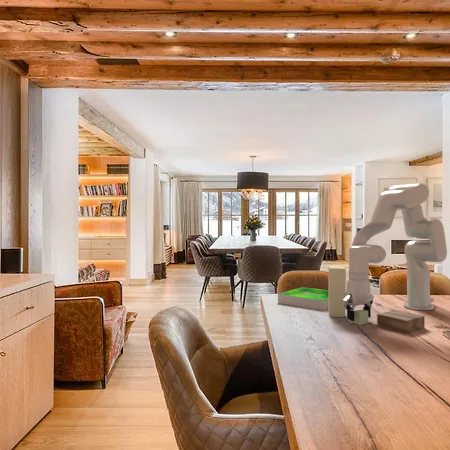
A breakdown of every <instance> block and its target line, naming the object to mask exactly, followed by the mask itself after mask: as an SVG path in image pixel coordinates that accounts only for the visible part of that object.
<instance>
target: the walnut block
mask: <svg viewBox="0 0 450 450" xmlns="http://www.w3.org/2000/svg"><path fill="white" fill-rule="evenodd" d="M376 317H377V319H376V320H377V321H376V326H377V327H379V328H383V329H388V330H390V331H391V330H392V331H394V332H399V333H403V334H411V333H414V332H416V331H420V330H423V329H425V327H426V326H425V323H426V322H425V315H421V314H415V313H412V312H411V313H410V312H407V311H402V310H398V309H394V310H388V311H385V312H380V313H377V314H376Z"/></svg>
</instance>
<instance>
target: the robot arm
mask: <svg viewBox="0 0 450 450" xmlns="http://www.w3.org/2000/svg"><path fill="white" fill-rule="evenodd" d="M429 196H430V189H429V187H428V186H427V185H426V184H424V183H420V182H419V183H417V182H415V183H406V184H405V183H404V184H397V185H393V186H391V187H389V188H388V189H387V190H386V191H383V192H381V193H380V195H379V196H378V199H377V202H376V205H375V207H374V211H373V212H372V216H371V219H370V220H369V221H368V222H367V223H365V225H364V226H362V228H360V229H359V230H358V231H357V232H356V233H355V236H354V237H353V240H352V244H351V246H350V247H348V279H347V281H346V298H345V299H344V300H343V303H344V307H345V311H346V319H347V321H350V320H351V321H354V311H353V310H354V309H356V308H355V307H357V306H363V307H362V309H363V310H367V311H368V319H371V313H372V312H371V310H372V309H371V308H372V307H373V306H372V304H373V303H374V298H375V295H373V294H372V293H371V286H370V279H369V276H370V275H369V268H370V267H369V264H379V263H382V262H383V261H384V260H385V259H386V256H387V253H386V249H385V248H384V247H382V246H381V245H377V244H367V242H368V241H369V240H371V238H372V237H374V236H376V235H378V234H382V233H384V232H385V231H388V230H389V229H391V228H392V225H393V222H394V220H395V216H396V213H397V211H401V214H402V220H403V226H404V231H405V235H406V236H407V237H408V238H410V239H416V240H411V241H408V242H407V243H406V244H405V246H404V254H405V260H406V283H407V284H406V293H407V295H406V297H407V298H406V301H407V302H404V303H403V307H404V308H406V309H409V310H415V311H432V310H434V309H435V306H434V305H432V304H431V303H432V302H435V298H433V297H431V271H430V267H429V265H428V264H427V263H426V262H429V263H442V262H444V261H445V260H446V258H447V255H448V250H447V243H446V234H445V228H444V225H443V223H442V221H441V220H440V219H438V218H437V217H436V218H435V217H425V216H424V212H423V211H424V210H423V207H422V204H423V203H425V202H426V201H427V200H428V198H429ZM419 239H420V240H419ZM422 239H423V240H422Z"/></svg>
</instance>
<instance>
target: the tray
mask: <svg viewBox="0 0 450 450" xmlns="http://www.w3.org/2000/svg"><path fill="white" fill-rule="evenodd" d="M345 298H346V294H345ZM277 303H278V304H282V303H283V304H282V305H288V304H289V306H296V307H302V308H307V309H314V310H318V311H319V310H320V311H326V310H327V309H328V289H327V290H326V289H319V288H313V287H312V288H311V287H304V286H302V287H298V288H295V289H294V288H293V289H291V290H288V291H284V292H281V293H277Z"/></svg>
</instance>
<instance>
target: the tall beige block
mask: <svg viewBox="0 0 450 450" xmlns="http://www.w3.org/2000/svg"><path fill="white" fill-rule="evenodd" d="M327 274H328V278H327V279H328V289H327V290H328V310H327V311H328V315H329V317H331V318H332V317H333V318H346V308H345V307H344V303H343V300H344V299H345V294H346V287H347V280H346V277H347V274H346V267H345V266H343V265H341V266H340V265H329V266H328V273H327Z"/></svg>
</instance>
